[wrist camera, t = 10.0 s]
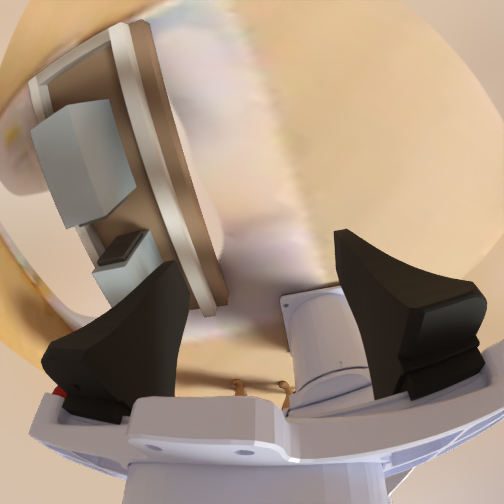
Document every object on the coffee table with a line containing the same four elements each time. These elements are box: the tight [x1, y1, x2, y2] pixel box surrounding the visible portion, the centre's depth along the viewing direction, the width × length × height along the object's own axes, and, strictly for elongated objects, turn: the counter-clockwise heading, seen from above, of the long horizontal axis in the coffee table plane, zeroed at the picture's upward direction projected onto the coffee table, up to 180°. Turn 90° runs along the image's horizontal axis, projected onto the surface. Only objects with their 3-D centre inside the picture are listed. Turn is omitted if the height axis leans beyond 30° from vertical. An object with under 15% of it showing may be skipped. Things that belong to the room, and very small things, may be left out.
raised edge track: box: [28, 19, 229, 317], centre depth 17 cm, size 24×11×6 cm, turn 12°
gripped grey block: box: [30, 99, 137, 229], centre depth 15 cm, size 4×7×5 cm, turn 13°
